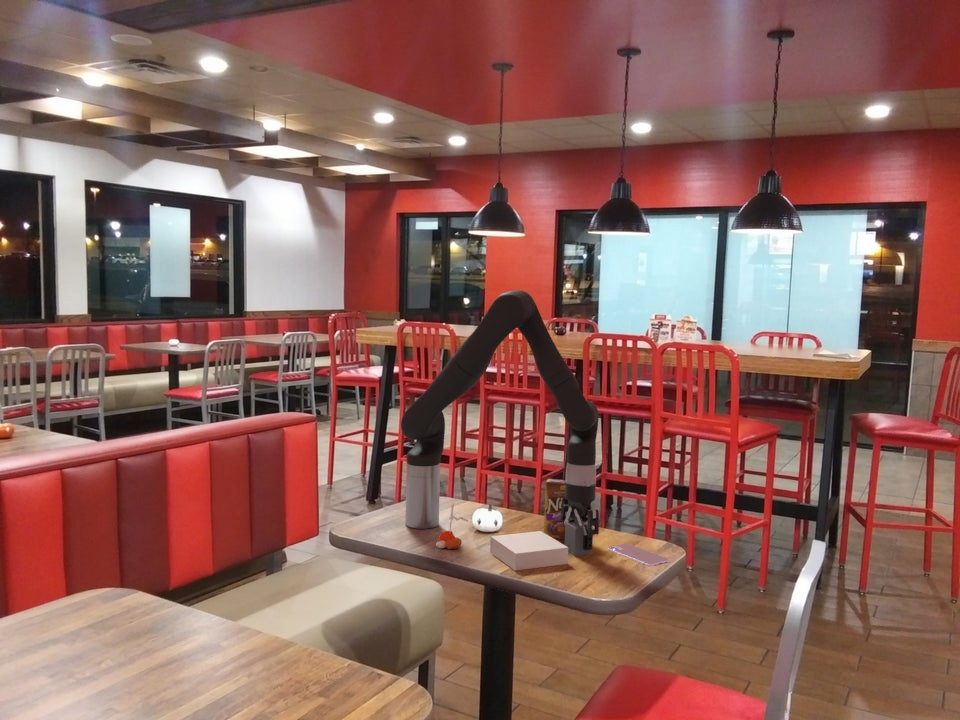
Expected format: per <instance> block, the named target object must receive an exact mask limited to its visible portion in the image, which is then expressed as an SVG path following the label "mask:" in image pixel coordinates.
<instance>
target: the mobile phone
mask: <svg viewBox="0 0 960 720" xmlns="http://www.w3.org/2000/svg"><path fill="white" fill-rule="evenodd" d="M607 551H609V552H612V553H614V554H617V555H619V554H620V556H621V555H623V556H622V557H624V556H625V557H624V558H626V557H628V558H627V559H629V558H631V559H630V560H632V559H633V560H632V561H634V560H636V561H635V562H637V561H638V562H637V563H639V562H640V564H642V563H643V564H642V565H644V564H645V566H649V567H654V566H657V565H661V564H665V562H667V563H669V562H670V559H669V558H667V557H665V556H662V555H659V554H657V553H654V552H651V551H648V550H646V549H644V548H641V547H638V546H636V545H633V544H630V543H622V544H618V545H613V546H609V547H607Z"/></svg>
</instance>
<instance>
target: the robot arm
mask: <svg viewBox="0 0 960 720" xmlns="http://www.w3.org/2000/svg"><path fill="white" fill-rule="evenodd" d="M541 315H542V314H541V312H540V310H539V308H538V306H537V304H536V302H535V300H534V298H533V297H532V295H530V294H529V293H528V292H526V291H524V290H521V289H516V290H514V289H513V290H511V291H506V292H503V293H501V294H500V295H498V296H497V297H495V299H494V300H493V301H492V303H491V304H490V307H488V309H487V311H486V312H485V314H484V316H483V317H482V319H481V321H480V323H479V324H478V325H477V327H476V328H475V329H474V331H473V332H472V333H471V334H470V335H469V336H468V337H467V338H466V339H465V340H464V342H462V344H461V346H459V347H458V349H457V350H456V351H455V352H454V353H453V355H452V356H451V357H450V358H449V359H448V361H447V362H446V364H445V365H444V366H443V368H442V369H441V371H439V373H438V374H437V376H436V377H435V378H434V379H433V381H432V382H431V383H430V385H429V386H428V387H427V388H426V389H425V391H424V392H423V393H422V394H421V395H420V396H418V398H417V399H416V400H415V401H414V402H413V403H412V404H411V405H410V406H409V407H408V408H407V409H406V410H405V412H404V413H403V415H402V417H401V421H400V428H401V431H402V432H401V433H402V434H403V435H404V436H405V437H406V438H408V439H409V440H413V441H415V444H414V445H413V446H412V448H411V449H409V451H408V452H407V454H406V477H405V478H406V479H405V480H406V481H405V484H406V485H405V520H404V521H405V523H404V524H405V525H406V526H407V527H409V528H412V529H418V530H419V529H420V530H421V529H424V530H425V529H432V528H436V527H438V526H439V524H440V522H439V521H440V495H441V494H440V492H441V491H440V490H441V489H440V486H441V485H440V484H441V457H442V456H443V455H442V454H443V452H444V447H445V432H446V431H445V429H446V420H445V416H444V415H445V414H444V413H443V411H444V409H446V408H447V407H448V406H449V405H451V404H452V403H454V402H455V401H457V400H459V398H461V397H462V396H464V395H465V394H466V393H468V392H469V391H470V390H471V389H472V388H473V387H474V386H475V385H476V383H478V381H479V380H480V379H481V378H482V376H483V375H484V374H485V372H486V371H487V369H488V368H489V366H490V365H491V362H492V359H493V356H494V354H495V352H496V350H497V348H499V346H500V344H501V343H503V342H504V340H505V339H506V338H507V337H508V336H510V334H511V333H512V332H513V331H515V330H516V329H518V331H519V332H520V333H521V334H522V335H523V337H524V339H525V340H526V342H527V343H528V345H529V349H530V350H531V352H532V355H533V358H534V361H535V365H536V368H537V370H538V373H539V375H540V377H541V379H542V380H543V382H544V384H545V385H546V386H547V388H548V389H549V391H550V393H552V395H553V397H554V398H555V401H556V403H557V405H558V408H559V409H560V411H561V414H562V416H563V417H564V419H565V421H566V422H567V424H568V426H570V438H569V441H568V444H567V451H566V452H567V453H566V457H567V458H566V467H565V479H564V480H565V498H562V509H561V520H562V521H564V524H565V523H569V522H576V521H577V522H578V523H579V526H580V527H581V528H582V530H583V533H584V535H583V549H584V550H591V549H592V550H593V542H594V541H593V536H594V535H595V536H596V535H598V534H599V532H600V531H599V530H600V529H599V527H600V523H599V522H600V515H599V514H600V513H599V512H600V511H599V509H592V505H591V504H592V503H593V502H594V501H595V500H596V491H597V490H596V489H597V468H596V460H597V453H596V452H597V447H596V446H597V445H596V440H597V435H598V427H599V410H598V407H597V406H596V404H595V403H593V401H590V400H589V399H588V400H587V399H586V397H585V396H584V394H583V393H582V391H581V389H580V384H579V382H578V379H577V378H576V377H575V375H574V373H573V371H572V370H571V368H570V367H569V365H568V363H567V362H566V361H565V359H564V357H563V356H562V354H561V353H560V351H559V350H558V348H557V346H556V344H555V342H554V341H553V338H552V337H551V335H550V332H549V331H548V328H547V326H546V324H545V322H544V321H543V317H542V316H541ZM565 512H567V514H566V516H565ZM587 526H588V530H587V529H586V527H587Z"/></svg>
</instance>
